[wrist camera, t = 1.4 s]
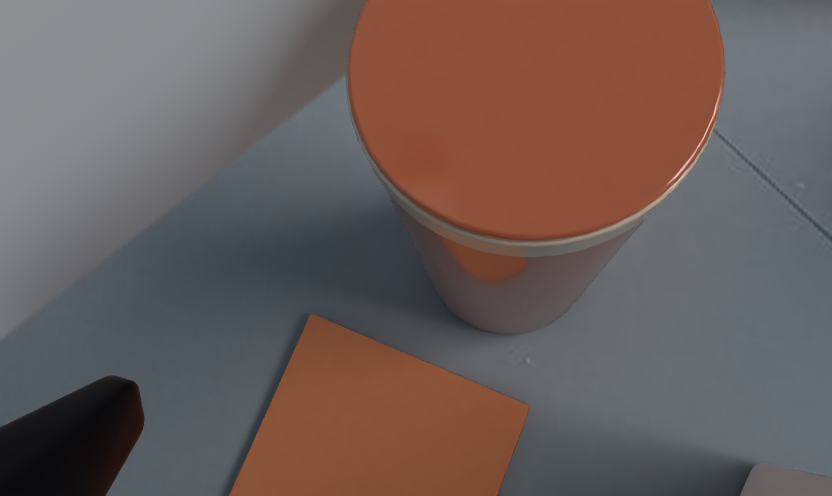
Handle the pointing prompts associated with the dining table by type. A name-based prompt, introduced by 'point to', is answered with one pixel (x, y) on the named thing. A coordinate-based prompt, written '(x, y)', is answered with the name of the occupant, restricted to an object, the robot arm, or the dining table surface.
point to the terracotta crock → (530, 136)
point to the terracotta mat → (377, 425)
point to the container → (785, 482)
